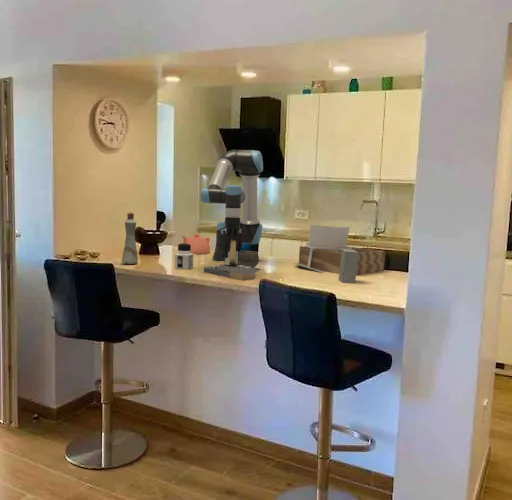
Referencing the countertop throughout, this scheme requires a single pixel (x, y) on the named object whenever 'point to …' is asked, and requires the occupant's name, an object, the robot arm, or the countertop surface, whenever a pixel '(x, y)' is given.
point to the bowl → (248, 258)
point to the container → (184, 257)
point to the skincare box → (348, 266)
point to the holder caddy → (332, 259)
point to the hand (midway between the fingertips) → (231, 264)
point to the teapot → (198, 244)
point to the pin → (232, 253)
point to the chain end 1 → (216, 271)
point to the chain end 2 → (239, 271)
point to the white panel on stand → (326, 240)
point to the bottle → (130, 241)
